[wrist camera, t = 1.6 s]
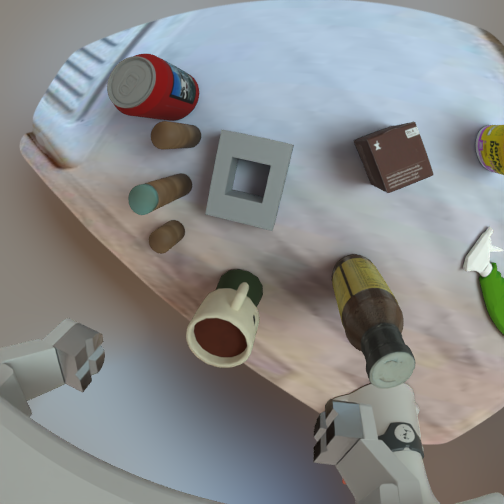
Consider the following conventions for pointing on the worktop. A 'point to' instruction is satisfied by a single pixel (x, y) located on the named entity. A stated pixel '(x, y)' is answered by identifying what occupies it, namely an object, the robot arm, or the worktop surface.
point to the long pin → (158, 193)
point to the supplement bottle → (491, 148)
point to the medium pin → (175, 135)
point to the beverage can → (152, 88)
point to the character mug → (227, 321)
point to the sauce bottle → (372, 321)
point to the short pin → (166, 236)
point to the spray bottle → (488, 277)
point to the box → (394, 157)
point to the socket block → (239, 203)
